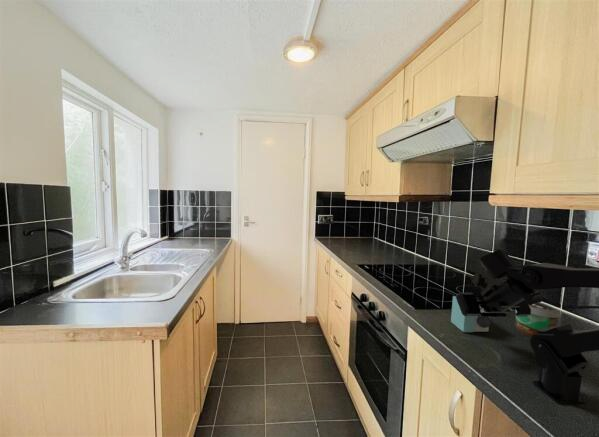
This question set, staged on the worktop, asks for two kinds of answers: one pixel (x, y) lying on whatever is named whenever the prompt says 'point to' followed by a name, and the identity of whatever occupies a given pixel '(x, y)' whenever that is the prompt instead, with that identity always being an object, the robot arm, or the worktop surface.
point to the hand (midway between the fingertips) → (476, 314)
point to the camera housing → (482, 324)
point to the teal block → (461, 318)
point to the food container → (536, 320)
